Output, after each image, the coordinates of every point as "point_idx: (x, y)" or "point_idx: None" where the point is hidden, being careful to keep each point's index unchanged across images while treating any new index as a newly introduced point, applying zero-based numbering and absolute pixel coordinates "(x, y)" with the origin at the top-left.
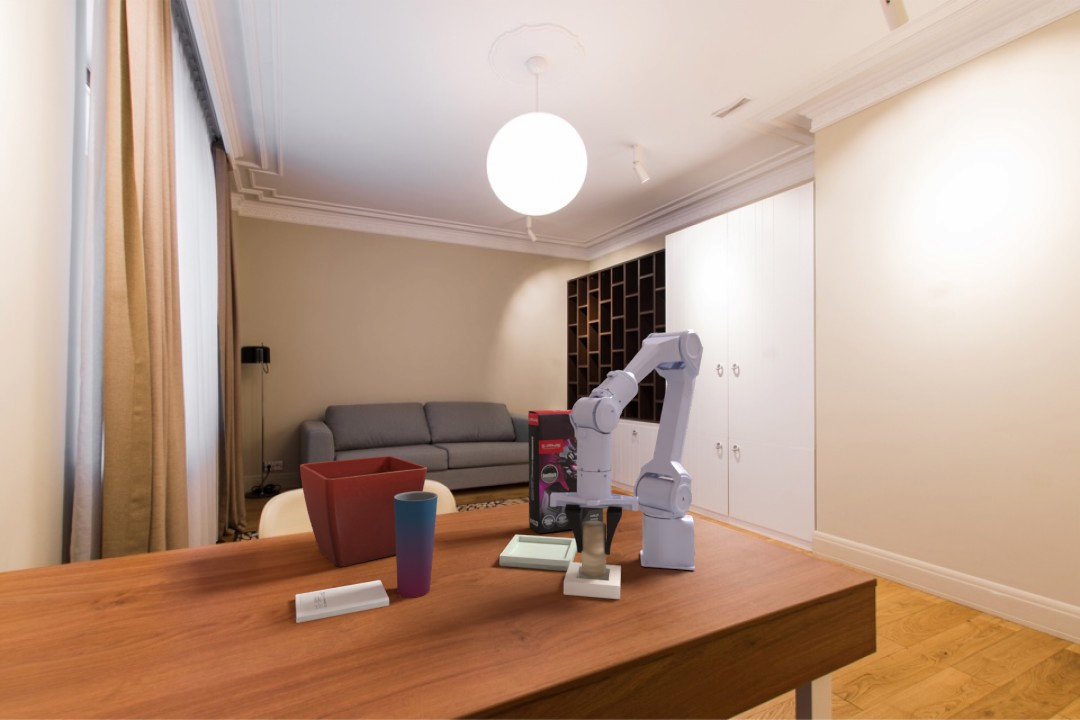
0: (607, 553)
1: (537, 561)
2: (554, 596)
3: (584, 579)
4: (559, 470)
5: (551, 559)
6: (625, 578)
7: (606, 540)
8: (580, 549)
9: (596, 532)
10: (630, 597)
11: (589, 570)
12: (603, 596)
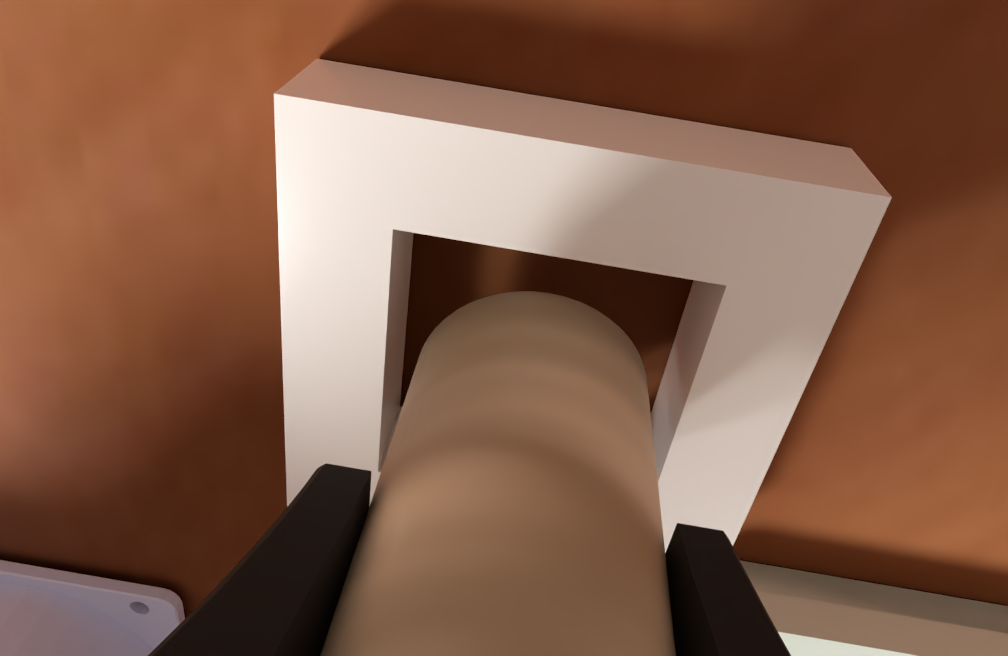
0: (341, 474)
1: (963, 643)
2: (957, 103)
3: (644, 252)
4: None
5: (855, 645)
6: (282, 442)
7: (294, 605)
8: (698, 553)
9: None
10: (225, 108)
11: (583, 342)
12: (468, 87)
